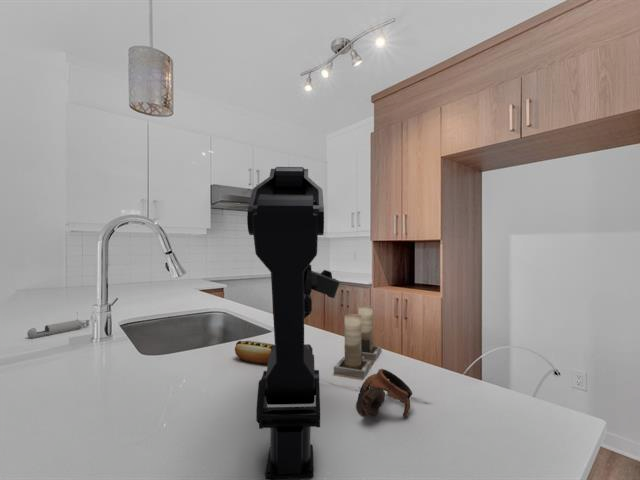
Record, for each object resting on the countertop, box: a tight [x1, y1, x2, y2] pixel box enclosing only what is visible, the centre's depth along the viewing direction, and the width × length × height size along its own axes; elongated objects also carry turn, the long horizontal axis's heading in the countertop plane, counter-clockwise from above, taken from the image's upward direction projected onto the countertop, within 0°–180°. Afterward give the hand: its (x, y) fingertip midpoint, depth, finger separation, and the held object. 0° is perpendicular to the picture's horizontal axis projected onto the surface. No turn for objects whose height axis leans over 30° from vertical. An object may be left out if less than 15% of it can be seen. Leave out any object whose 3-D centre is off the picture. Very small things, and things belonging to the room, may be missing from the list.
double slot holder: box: [332, 344, 383, 381], centre depth 82 cm, size 21×7×3 cm, turn 158°
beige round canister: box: [344, 313, 362, 370], centre depth 76 cm, size 4×4×13 cm
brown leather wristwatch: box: [355, 368, 413, 418], centre depth 59 cm, size 12×10×8 cm
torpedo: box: [26, 311, 90, 339], centre depth 113 cm, size 18×5×7 cm, turn 151°
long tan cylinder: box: [357, 304, 374, 353], centre depth 87 cm, size 4×4×13 cm
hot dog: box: [234, 340, 275, 365], centre depth 85 cm, size 5×13×5 cm, turn 67°
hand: (294, 340), depth 61 cm, fingers open, 9 cm apart
